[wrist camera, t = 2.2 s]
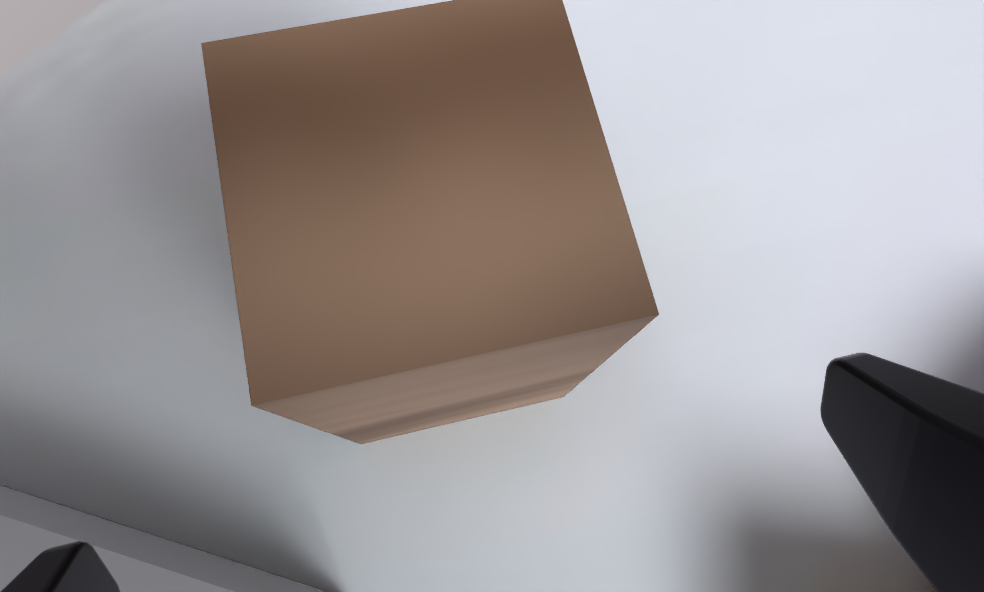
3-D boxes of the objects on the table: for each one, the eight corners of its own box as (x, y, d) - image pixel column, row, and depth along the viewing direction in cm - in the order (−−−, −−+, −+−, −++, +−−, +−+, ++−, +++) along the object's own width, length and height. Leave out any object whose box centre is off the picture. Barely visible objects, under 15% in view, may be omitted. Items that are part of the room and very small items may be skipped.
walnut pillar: (563, 396, 19) (658, 314, 10) (360, 444, 19) (251, 405, 9) (515, 211, 21) (556, -18, 11) (326, 249, 20) (201, 43, 11)
